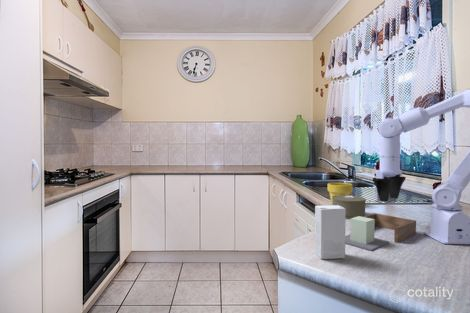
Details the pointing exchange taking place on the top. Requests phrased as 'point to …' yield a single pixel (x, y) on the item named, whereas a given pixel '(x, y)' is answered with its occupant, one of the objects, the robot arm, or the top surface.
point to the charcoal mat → (369, 246)
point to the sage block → (362, 229)
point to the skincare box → (330, 231)
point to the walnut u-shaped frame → (395, 225)
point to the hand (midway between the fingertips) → (388, 199)
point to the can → (350, 205)
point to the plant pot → (339, 189)
